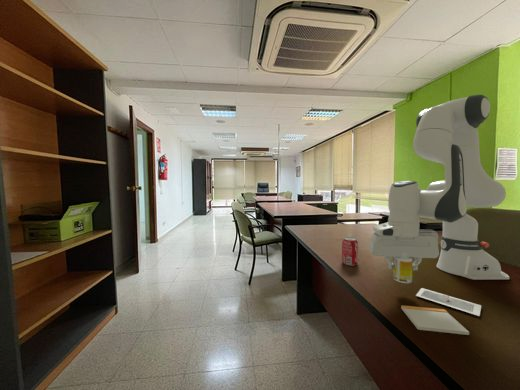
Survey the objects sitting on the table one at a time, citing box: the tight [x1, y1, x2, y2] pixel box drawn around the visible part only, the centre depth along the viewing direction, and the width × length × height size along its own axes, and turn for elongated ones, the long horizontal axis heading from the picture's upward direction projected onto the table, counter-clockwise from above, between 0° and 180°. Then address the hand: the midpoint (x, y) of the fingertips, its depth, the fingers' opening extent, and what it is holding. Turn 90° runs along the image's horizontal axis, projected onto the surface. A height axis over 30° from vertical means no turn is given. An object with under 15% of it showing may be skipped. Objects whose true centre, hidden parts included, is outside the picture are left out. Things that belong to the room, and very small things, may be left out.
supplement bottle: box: [392, 253, 414, 284], centre depth 74 cm, size 6×6×10 cm
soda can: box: [341, 236, 359, 267], centre depth 102 cm, size 7×7×12 cm
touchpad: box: [415, 287, 482, 317], centre depth 69 cm, size 8×15×2 cm, turn 42°
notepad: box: [400, 305, 470, 336], centre depth 60 cm, size 12×10×1 cm
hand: (402, 268), depth 74 cm, fingers closed on supplement bottle, 6 cm apart
